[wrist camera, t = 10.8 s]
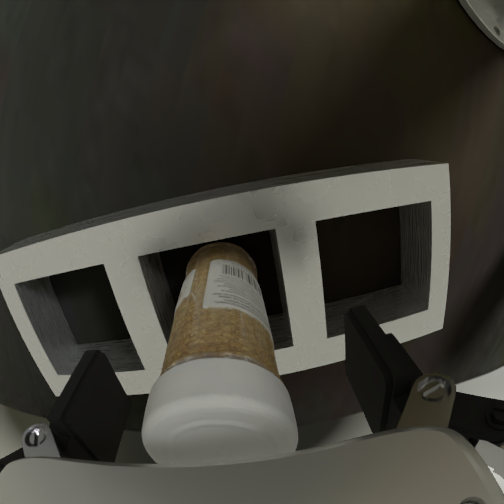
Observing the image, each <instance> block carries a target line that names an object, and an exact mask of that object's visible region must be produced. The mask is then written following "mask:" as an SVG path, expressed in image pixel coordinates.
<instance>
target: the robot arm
mask: <svg viewBox="0 0 504 504" xmlns="http://www.w3.org/2000/svg"><path fill="white" fill-rule="evenodd" d="M459 2H460V4H461V5H462V6H463V8H464V9H465V11H466V12H467V13H468V15H469V16H470V17H471V19H472V20H473V21H474V22H475V24H476V25H477V26H478V27H479V28H480V29H481V30H482V31H483V32H484V34H485V35H486V36H487V37H488V38H490V39H491V40H492V41H493V42H494V43H495V44H496V45H498V46H499V47H500V48H502V49H503V50H504V0H459ZM344 324H345V367H346V373H347V376H348V379H349V381H350V383H351V385H352V388H353V390H354V392H355V394H356V397H357V399H358V401H359V403H360V406H361V408H362V410H363V412H364V414H365V417H366V419H367V421H368V424H369V426H370V428H371V430H372V432H373V434H369V435H365V436H361V437H357V438H353V439H350V440H345V441H342V442H337V443H333V444H328V445H324V446H320V447H315V448H309V449H305V450H300V451H294V452H289V453H283V454H277V455H271V456H264V457H257V458H249V459H241V460H231V461H221V462H207V463H188V464H133V463H114V462H115V458H116V455H117V451H118V448H119V444H120V441H121V437H122V434H123V431H124V428H125V424H126V421H127V418H128V415H129V411H130V408H131V402H130V399H129V398H128V396H127V394H126V392H125V390H124V389H123V387H122V385H121V383H120V381H119V379H118V378H117V376H116V374H115V372H114V370H113V368H112V366H111V364H110V362H109V360H108V358H107V356H106V354H105V353H102V352H101V351H100V350H98V349H97V350H87V351H85V353H84V354H83V356H82V358H81V359H80V361H79V363H78V364H77V366H76V368H75V370H74V371H73V373H72V375H71V376H70V378H69V380H68V382H67V383H66V385H65V387H64V389H63V391H62V392H61V394H60V396H59V398H58V400H57V401H56V403H55V405H54V407H53V409H52V411H51V412H50V414H49V416H48V418H47V419H48V420H49V421H50V425H49V426H48V425H46V424H44V423H37V424H34V425H32V426H31V427H29V428H28V429H27V430H26V431H25V433H24V434H23V437H22V446H23V447H22V448H20V449H19V450H17V451H15V452H13V453H11V454H9V455H8V456H6V457H4V458H2V459H0V504H504V494H503V492H502V490H501V488H500V486H499V485H498V483H497V481H496V479H495V478H494V476H493V474H492V473H491V471H490V469H489V468H488V466H490V467H492V468H494V471H493V472H495V473H497V474H498V475H500V476H501V477H502V478H504V401H503V400H497V399H491V398H486V397H481V396H475V395H470V394H465V393H460V392H456V385H455V383H454V381H453V380H452V379H451V378H450V377H448V376H446V375H444V374H441V373H428V374H425V375H423V374H422V373H421V371H420V370H419V368H418V367H417V366H416V364H415V363H414V361H413V360H412V359H411V357H410V356H409V355H408V353H407V352H406V351H405V349H404V348H403V347H402V345H401V344H400V343H399V341H398V340H397V339H396V337H395V336H394V335H393V334H392V333H388V334H385V332H384V331H383V330H382V328H381V327H380V325H379V324H378V323H377V321H376V320H375V319H374V317H373V316H372V315H371V313H370V312H369V311H368V309H367V308H366V307H365V306H364V305H361V306H357V307H353V308H349V311H348V313H345V314H344Z"/></svg>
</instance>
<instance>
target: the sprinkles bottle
mask: <svg viewBox="0 0 504 504" xmlns="http://www.w3.org/2000/svg"><path fill="white" fill-rule="evenodd" d="M142 440H143V444H144V447H145V449H146V450H147V452H148V454H149V455H150V456H151V457H152V459H153V460H154V461H155V462H156V463H158V464H188V463H207V462H221V461H231V460H241V459H249V458H257V457H264V456H271V455H277V454H283V453H289V452H294V451H295V450H296V447H297V444H298V430H297V425H296V420H295V415H294V410H293V407H292V403H291V399H290V396H289V393H288V391H287V389H286V387H285V386H284V384H283V382H282V380H281V378H280V376H279V372H278V368H277V363H276V359H275V353H274V342H273V338H272V334H271V330H270V325H269V321H268V317H267V313H266V309H265V305H264V301H263V297H262V293H261V290H260V286H259V284H258V282H257V268H256V265H255V263H254V260H253V259H252V258H251V257H250V255H249V254H248V253H247V252H246V251H245V250H244V249H243V248H241V247H239V246H237V245H235V244H232V243H228V242H215V243H211V244H207V245H204V246H203V247H201V248H200V249H199V250H197V251H196V252H195V253H194V255H193V256H192V257H191V259H190V261H189V262H188V264H187V268H186V279H185V280H184V283H183V285H182V288H181V292H180V295H179V299H178V302H177V305H176V309H175V314H174V321H173V325H172V329H171V334H170V338H169V342H168V345H167V348H166V353H165V358H164V362H163V366H162V371H161V374H160V376H159V378H158V379H157V380H156V382H155V383H154V385H153V387H152V388H151V390H150V393H149V397H148V401H147V405H146V409H145V414H144V420H143V425H142Z"/></svg>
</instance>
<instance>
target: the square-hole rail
mask: <svg viewBox="0 0 504 504" xmlns="http://www.w3.org/2000/svg"><path fill="white" fill-rule="evenodd" d="M397 206H399V217H400V244H401V285H398V286H394V287H390V288H387V289H383V290H379V291H375V292H371V293H367V294H363V295H359V296H355V297H351V298H347V299H343V300H339V301H334V302H330V303H326V304H324V295H323V284H322V274H321V265H320V256H319V247H318V239H317V231H316V223H315V221H319V220H324V219H330V218H335V217H341V216H346V215H352V214H357V213H363V212H368V211H374V210H380V209H385V208H391V207H397ZM266 230H269V233H270V238H271V244H272V250H273V256H274V262H275V268H276V274H277V280H278V286H279V292H280V298H281V305H282V311H283V313H280V314H275V315H270V316H267V317H268V321H269V325H270V330H271V334H272V338H273V342H274V353H275V359H276V363H277V368H278V372H279V375H283V374H288V373H293V372H297V371H302V370H306V369H311V368H315V367H319V366H323V365H327V364H331V363H335V362H339V361H343V360H345V324H344V314H345V313H348V311H349V308H353V307H357V306H361V305H364V306H365V307H366V308H367V309H368V311H369V312H370V313H371V315H372V316H373V317H374V319H375V320H376V321H377V323H378V324H379V325H380V327H381V328H382V330H383V331H384V332H385V334H388V333H392V334H393V335H394V336H395V337H396V339H397V340H398V341H399V343H403V342H406V341H409V340H412V339H415V338H418V337H421V336H423V335H426V334H429V333H432V332H434V331H437V330H440V329H442V328H443V322H444V315H445V307H446V298H447V288H448V276H449V261H450V235H451V205H450V179H449V164H448V163H443V162H435V161H428V160H420V159H405V160H395V161H386V162H378V163H369V164H361V165H353V166H346V167H339V168H332V169H325V170H318V171H311V172H305V173H299V174H293V175H287V176H281V177H275V178H269V179H264V180H258V181H253V182H247V183H242V184H237V185H232V186H227V187H222V188H217V189H212V190H207V191H203V192H198V193H193V194H189V195H184V196H180V197H175V198H171V199H167V200H162V201H158V202H154V203H150V204H146V205H142V206H138V207H134V208H130V209H126V210H122V211H118V212H114V213H111V214H107V215H103V216H99V217H96V218H92V219H89V220H85V221H81V222H78V223H75V224H71V225H68V226H64V227H61V228H58V229H54V230H51V231H48V232H45V233H41V234H38V235H35V236H32V237H29V238H26V239H23V240H20V241H18V242H17V243H15V244H13V245H11V246H9V247H8V248H6V249H4V250H2V251H1V252H0V288H1V291H2V293H3V296H4V298H5V301H6V303H7V305H8V308H9V310H10V312H11V314H12V317H13V319H14V321H15V323H16V325H17V327H18V330H19V332H20V334H21V336H22V338H23V340H24V342H25V344H26V346H27V348H28V349H29V351H30V353H31V355H32V357H33V359H34V361H35V362H36V364H37V366H38V368H39V369H40V371H41V373H42V375H43V376H44V378H45V380H46V381H47V383H48V385H49V386H50V388H51V389H52V391H53V393H54V394H55V396H60V394H61V392H62V391H63V389H64V387H65V385H66V383H67V382H68V380H69V378H70V376H71V375H72V373H73V371H74V370H75V368H76V366H77V364H78V363H79V361H80V359H81V358H82V356H83V354H84V353H85V351H87V350H97V349H98V350H100V351H101V352H102V353H105V354H106V356H107V358H108V360H109V362H110V364H111V366H112V368H113V370H114V372H115V374H116V376H117V378H118V379H119V381H120V383H121V385H122V387H123V389H124V390H125V392H126V394H127V395H136V394H149V393H150V390H151V388H152V387H153V385H154V383H155V382H156V380H157V379H158V378H159V376H160V374H161V371H162V366H163V362H164V358H165V353H166V348H167V345H168V342H169V338H170V334H171V329H172V325H173V321H174V314H175V309H176V307H175V304H174V301H173V298H172V295H171V291H170V288H169V285H168V281H167V278H166V275H165V271H164V268H163V264H162V261H161V257H160V254H159V252H161V251H166V250H170V249H175V248H180V247H185V246H190V245H195V244H200V243H205V242H210V241H215V240H220V239H225V238H230V237H235V236H240V235H245V234H250V233H255V232H261V231H266ZM100 264H104V266H105V269H106V272H107V275H108V278H109V281H110V284H111V287H112V290H113V292H114V295H115V298H116V301H117V303H118V306H119V309H120V311H121V314H122V316H123V319H124V322H125V324H126V327H127V329H128V331H129V334H130V336H131V338H130V339H122V340H114V341H105V342H96V343H87V344H77V342H76V340H75V338H74V336H73V334H72V332H71V329H70V327H69V325H68V323H67V321H66V318H65V316H64V314H63V311H62V309H61V307H60V304H59V302H58V299H57V297H56V294H55V292H54V289H53V287H52V284H51V281H50V279H49V276H50V275H55V274H59V273H64V272H68V271H73V270H77V269H82V268H86V267H91V266H95V265H100Z"/></svg>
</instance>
